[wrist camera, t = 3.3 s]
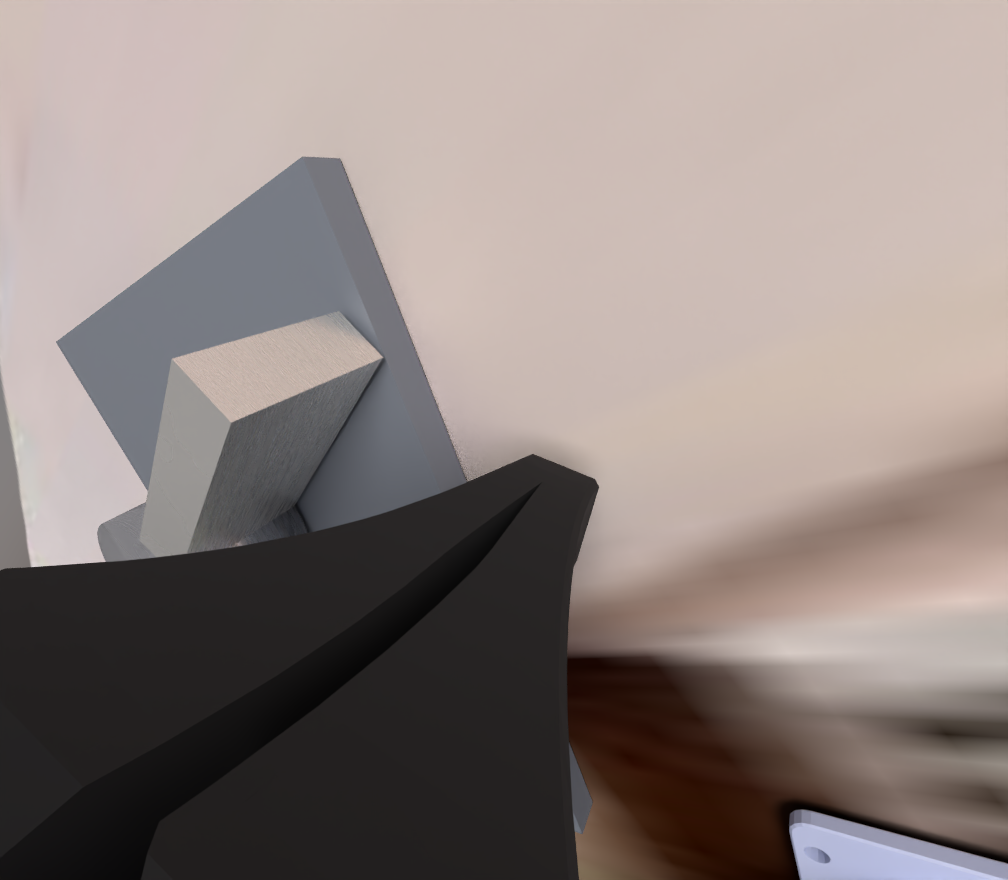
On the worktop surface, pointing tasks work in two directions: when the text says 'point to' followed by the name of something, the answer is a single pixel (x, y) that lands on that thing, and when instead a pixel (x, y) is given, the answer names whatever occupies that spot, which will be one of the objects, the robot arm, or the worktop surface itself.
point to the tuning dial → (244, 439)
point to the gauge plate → (271, 305)
